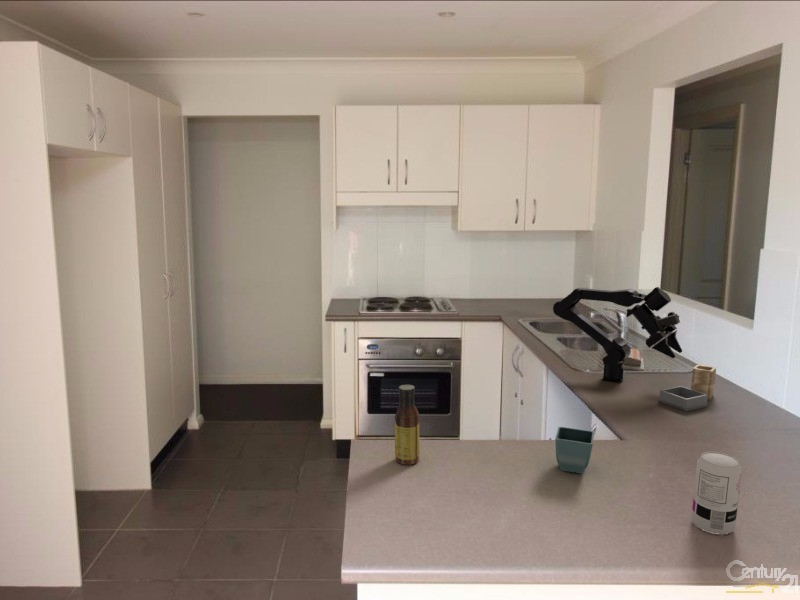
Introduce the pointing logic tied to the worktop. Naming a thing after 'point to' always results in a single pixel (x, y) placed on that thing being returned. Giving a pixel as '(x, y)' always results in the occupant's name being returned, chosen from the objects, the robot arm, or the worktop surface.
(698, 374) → the tall pine crate
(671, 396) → the grey square tray
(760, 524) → the worktop surface
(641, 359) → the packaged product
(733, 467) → the supplement can
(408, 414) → the sauce bottle
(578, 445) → the flower pot
